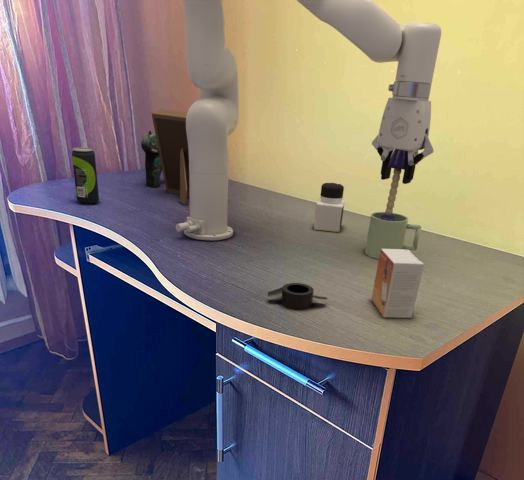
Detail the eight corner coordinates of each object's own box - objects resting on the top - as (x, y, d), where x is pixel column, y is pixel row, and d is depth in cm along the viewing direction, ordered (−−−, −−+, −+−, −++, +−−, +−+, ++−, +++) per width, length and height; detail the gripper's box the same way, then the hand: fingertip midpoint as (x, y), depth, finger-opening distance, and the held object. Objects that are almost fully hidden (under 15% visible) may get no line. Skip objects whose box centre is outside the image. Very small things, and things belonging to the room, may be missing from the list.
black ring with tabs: (285, 290, 102) (286, 276, 101) (329, 304, 97) (331, 290, 96) (263, 301, 97) (264, 287, 95) (308, 317, 92) (310, 302, 90)
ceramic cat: (152, 188, 174) (149, 124, 164) (138, 185, 177) (135, 122, 167) (190, 181, 189) (190, 121, 179) (177, 178, 192) (176, 119, 182)
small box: (370, 300, 100) (379, 247, 95) (398, 300, 101) (409, 248, 96) (382, 318, 93) (393, 262, 88) (412, 318, 94) (424, 263, 89)
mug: (365, 257, 123) (371, 219, 119) (364, 247, 131) (370, 210, 126) (416, 263, 122) (424, 224, 117) (413, 252, 129) (420, 215, 125)
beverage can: (102, 204, 153) (97, 150, 145) (81, 205, 149) (75, 151, 142) (95, 199, 157) (90, 147, 150) (74, 201, 154) (68, 147, 146)
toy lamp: (400, 222, 124) (413, 148, 116) (395, 226, 120) (409, 150, 112) (380, 219, 125) (392, 146, 117) (375, 223, 121) (388, 148, 113)
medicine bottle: (339, 232, 141) (345, 187, 135) (313, 229, 142) (318, 184, 136) (341, 226, 147) (347, 182, 141) (316, 223, 148) (321, 180, 142)
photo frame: (174, 189, 175) (172, 108, 163) (226, 200, 166) (228, 115, 154) (144, 196, 164) (139, 110, 152) (197, 208, 154) (197, 117, 142)
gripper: (367, 88, 111) (355, 176, 120) (442, 95, 102) (423, 189, 111) (384, 89, 116) (371, 173, 125) (457, 95, 107) (437, 185, 116)
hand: (395, 180), depth 118 cm, fingers closed on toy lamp, 4 cm apart
